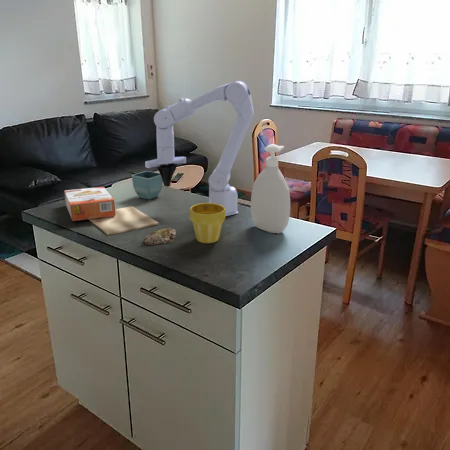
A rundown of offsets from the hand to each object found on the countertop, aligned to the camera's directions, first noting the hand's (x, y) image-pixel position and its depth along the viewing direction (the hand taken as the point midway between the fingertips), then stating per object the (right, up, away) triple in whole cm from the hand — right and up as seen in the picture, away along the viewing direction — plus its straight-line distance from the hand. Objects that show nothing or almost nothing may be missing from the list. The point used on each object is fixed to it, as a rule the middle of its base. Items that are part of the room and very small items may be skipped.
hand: (166, 185), depth 157 cm
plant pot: (+15, -18, -21) cm, 31 cm away
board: (-14, -12, -7) cm, 20 cm away
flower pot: (-9, -3, +17) cm, 20 cm away
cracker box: (-22, -9, -10) cm, 26 cm away
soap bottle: (+34, -15, -12) cm, 39 cm away
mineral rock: (+1, -18, -21) cm, 28 cm away
